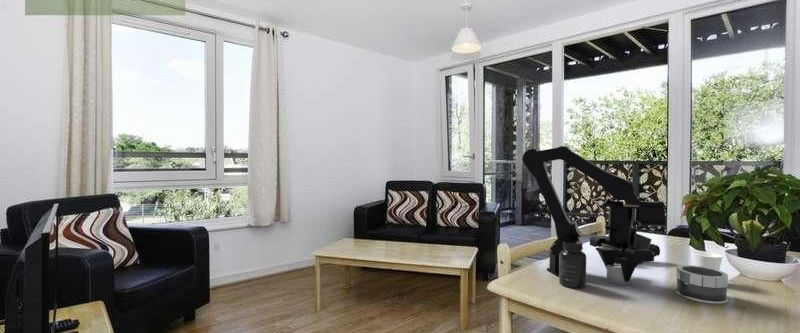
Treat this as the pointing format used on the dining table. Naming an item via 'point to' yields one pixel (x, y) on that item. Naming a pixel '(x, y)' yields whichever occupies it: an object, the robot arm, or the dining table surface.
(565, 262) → the supplement bottle
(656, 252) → the night vision scope
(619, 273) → the grey squat block
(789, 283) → the dining table surface
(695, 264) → the cup
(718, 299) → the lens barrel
